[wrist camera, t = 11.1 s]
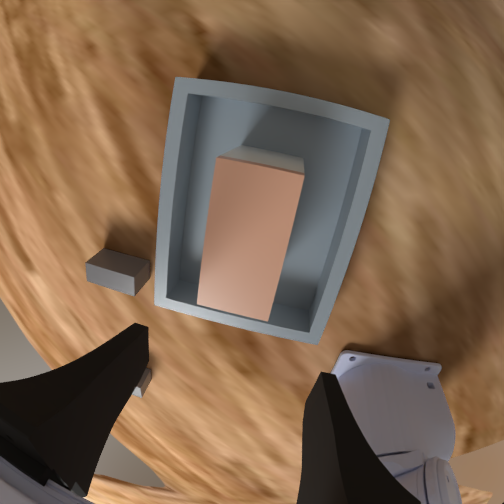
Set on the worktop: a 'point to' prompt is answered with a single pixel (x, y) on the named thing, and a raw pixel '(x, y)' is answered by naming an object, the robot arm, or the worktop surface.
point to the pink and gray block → (248, 229)
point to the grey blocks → (121, 284)
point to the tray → (309, 206)
